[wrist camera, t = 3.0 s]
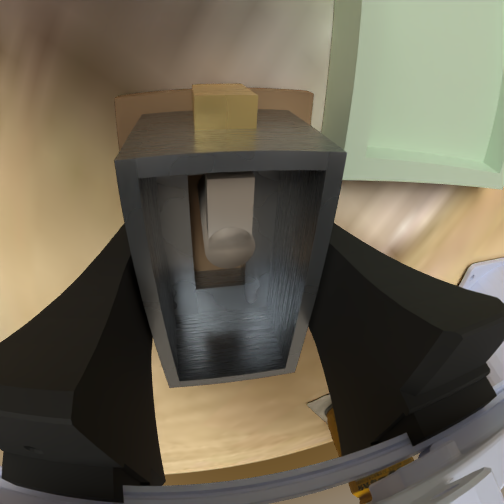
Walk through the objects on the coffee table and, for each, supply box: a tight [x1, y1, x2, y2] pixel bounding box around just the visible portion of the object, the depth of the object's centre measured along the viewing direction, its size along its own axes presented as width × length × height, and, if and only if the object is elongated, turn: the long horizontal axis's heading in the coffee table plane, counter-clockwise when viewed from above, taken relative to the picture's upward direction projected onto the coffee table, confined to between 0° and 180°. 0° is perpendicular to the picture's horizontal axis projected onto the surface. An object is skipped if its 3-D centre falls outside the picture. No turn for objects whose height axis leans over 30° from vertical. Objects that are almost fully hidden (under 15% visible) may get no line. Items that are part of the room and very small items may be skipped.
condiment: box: [307, 394, 414, 504], centre depth 21 cm, size 7×8×12 cm
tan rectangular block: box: [115, 88, 314, 272], centre depth 10 cm, size 9×6×4 cm, turn 177°
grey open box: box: [114, 84, 347, 388], centre depth 9 cm, size 9×4×4 cm, turn 177°
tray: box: [322, 0, 504, 190], centre depth 7 cm, size 13×10×2 cm
